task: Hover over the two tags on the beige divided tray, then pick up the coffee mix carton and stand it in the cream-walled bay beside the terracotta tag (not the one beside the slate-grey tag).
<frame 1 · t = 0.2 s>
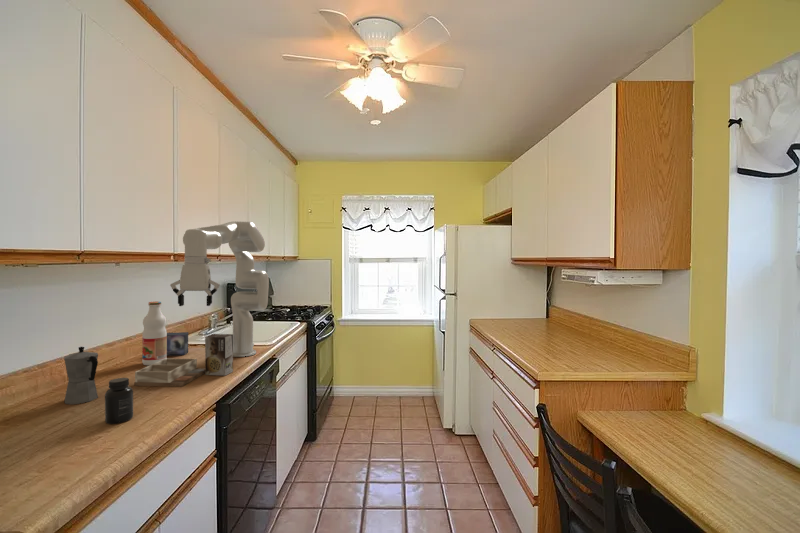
hand: (195, 305, 149), 30 cm above the counter, tool pointing down, fingers open, 9 cm apart
beige divided tray: (173, 377, 155), on the counter
coffeepot: (83, 400, 130), on the counter
fruit juice: (154, 363, 176), on the counter
supplement bottle: (119, 420, 115), on the counter
coffee box: (219, 373, 162), on the counter
small box: (175, 354, 192), on the counter
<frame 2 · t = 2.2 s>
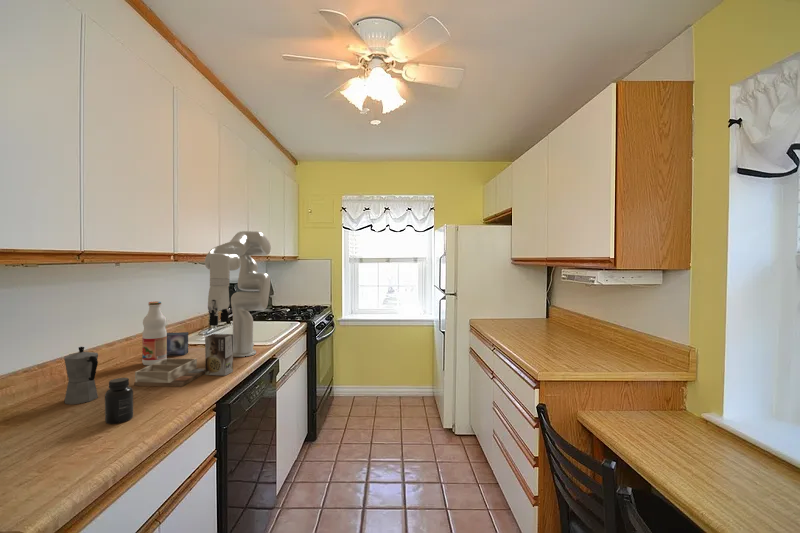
hand: (219, 323, 161), 21 cm above the counter, tool pointing down, fingers open, 9 cm apart
nothing on the counter moved.
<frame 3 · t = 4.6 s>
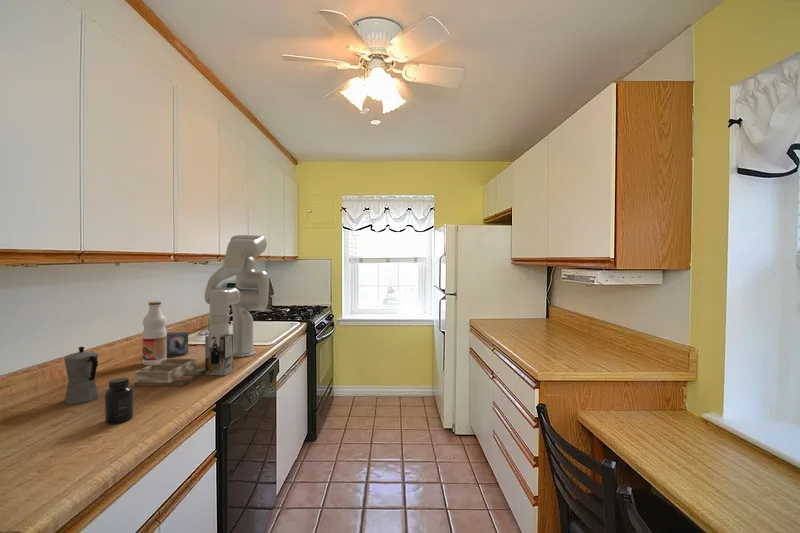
hand: (219, 360, 162), 5 cm above the counter, tool pointing down, fingers closed on coffee box, 6 cm apart
coffee box: (219, 373, 162), on the counter, touching gripper
everything else where it was.
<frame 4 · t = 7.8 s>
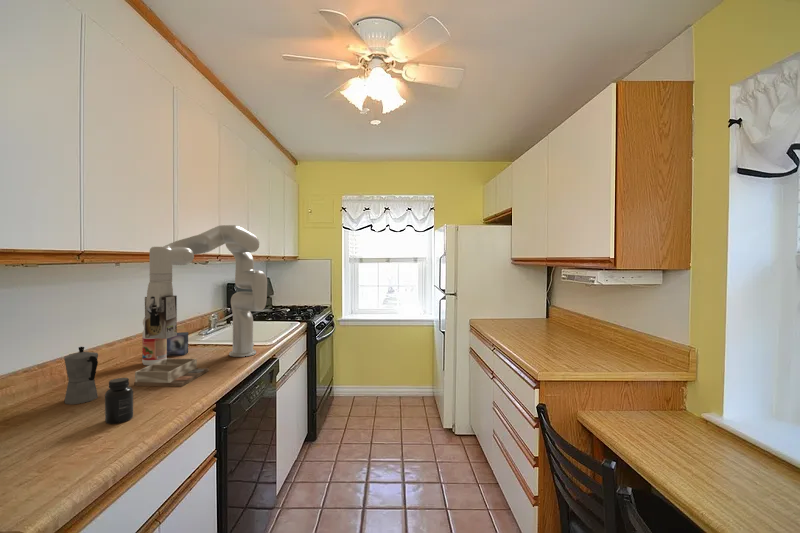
hand: (160, 323, 150), 23 cm above the counter, tool pointing down, fingers closed on coffee box, 6 cm apart
coffee box: (161, 337, 150), point 17 cm above the counter, touching gripper
everything else where it was.
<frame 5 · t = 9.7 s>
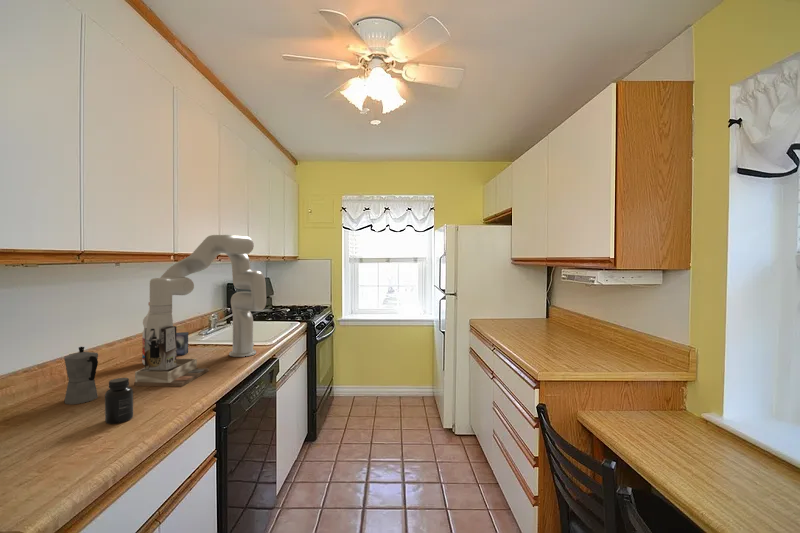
hand: (160, 354, 150), 10 cm above the counter, tool pointing down, fingers closed on coffee box, 6 cm apart
coffee box: (160, 368, 150), point 5 cm above the counter, touching gripper
everything else where it was.
when the fingers open (8 cm above the counter, at t = 11.3 s): coffee box drops 1 cm, resting on beige divided tray.
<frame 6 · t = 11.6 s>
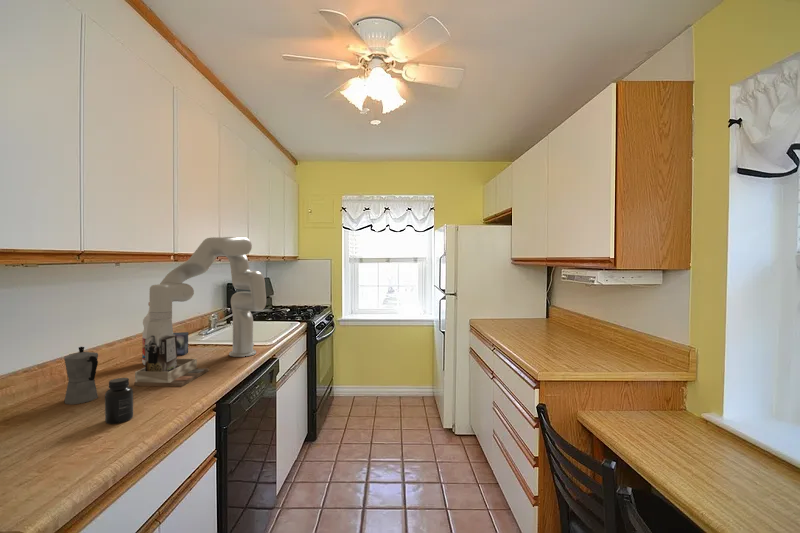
hand: (160, 359, 150), 8 cm above the counter, tool pointing down, fingers open, 9 cm apart
coffee box: (161, 378, 150), point 1 cm above the counter, touching beige divided tray
everything else where it was.
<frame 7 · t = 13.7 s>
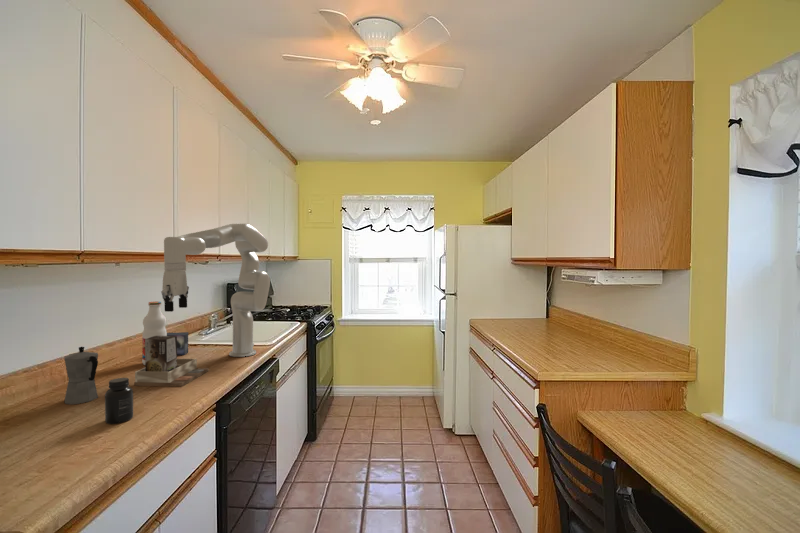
hand: (176, 309, 156), 27 cm above the counter, tool pointing down, fingers open, 9 cm apart
nothing on the counter moved.
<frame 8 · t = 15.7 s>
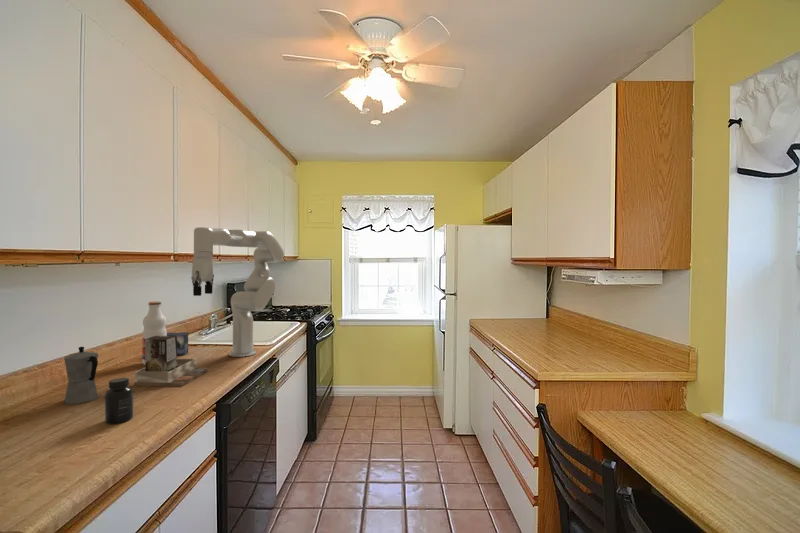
hand: (203, 294, 169), 32 cm above the counter, tool pointing down, fingers open, 9 cm apart
nothing on the counter moved.
at the end: coffee box inside the target area on the beige divided tray (0.3 cm from its centre), point 1.0 cm above the beige divided tray's base; coffee box tilted 0°; the gripper is holding nothing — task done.
